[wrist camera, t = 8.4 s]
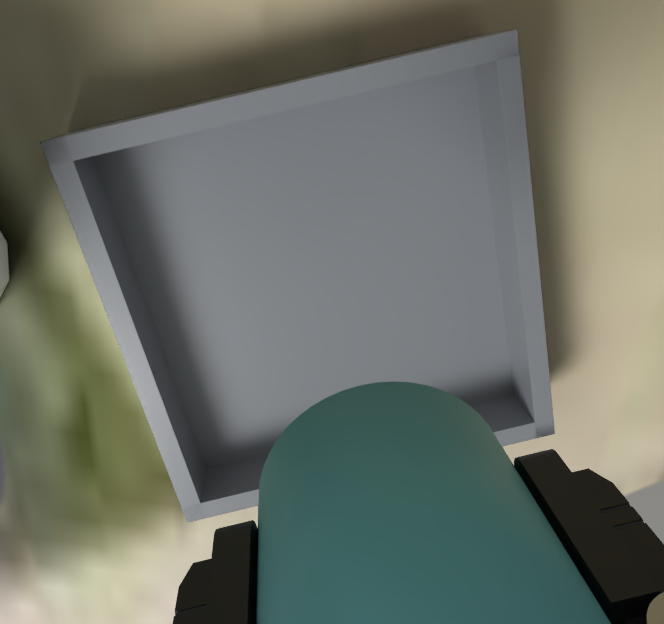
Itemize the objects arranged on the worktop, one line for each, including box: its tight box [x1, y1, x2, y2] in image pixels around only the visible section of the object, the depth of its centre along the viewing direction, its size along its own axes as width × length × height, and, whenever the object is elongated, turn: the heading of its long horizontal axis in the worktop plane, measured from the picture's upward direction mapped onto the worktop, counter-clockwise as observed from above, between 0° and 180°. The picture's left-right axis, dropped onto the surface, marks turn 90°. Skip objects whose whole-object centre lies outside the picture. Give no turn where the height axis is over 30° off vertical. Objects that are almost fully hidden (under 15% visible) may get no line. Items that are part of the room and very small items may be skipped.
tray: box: [40, 30, 555, 522], centre depth 25 cm, size 16×16×3 cm
